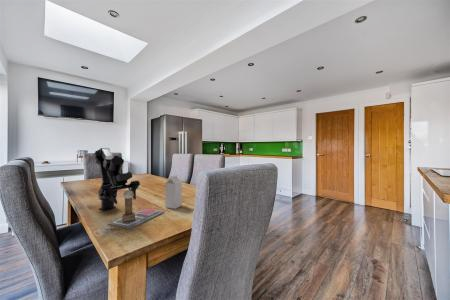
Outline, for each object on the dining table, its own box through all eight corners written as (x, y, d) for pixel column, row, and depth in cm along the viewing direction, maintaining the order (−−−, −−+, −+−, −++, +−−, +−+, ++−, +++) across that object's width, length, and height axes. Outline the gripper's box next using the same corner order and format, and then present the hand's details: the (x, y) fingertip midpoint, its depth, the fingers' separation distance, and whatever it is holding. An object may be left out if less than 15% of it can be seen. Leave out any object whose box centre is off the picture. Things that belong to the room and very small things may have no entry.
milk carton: (181, 205, 118) (181, 175, 118) (175, 209, 111) (175, 177, 111) (172, 204, 120) (172, 175, 120) (165, 207, 113) (165, 176, 113)
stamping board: (107, 224, 88) (107, 220, 88) (144, 209, 110) (144, 206, 110) (130, 229, 83) (130, 225, 83) (164, 212, 105) (164, 209, 105)
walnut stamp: (122, 219, 93) (122, 189, 93) (133, 217, 96) (133, 188, 96) (123, 222, 89) (123, 191, 89) (135, 220, 92) (135, 190, 92)
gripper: (100, 168, 89) (111, 195, 83) (138, 165, 104) (149, 188, 98) (94, 183, 93) (103, 209, 87) (130, 178, 109) (141, 200, 102)
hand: (126, 201), depth 94 cm, fingers open, 9 cm apart
